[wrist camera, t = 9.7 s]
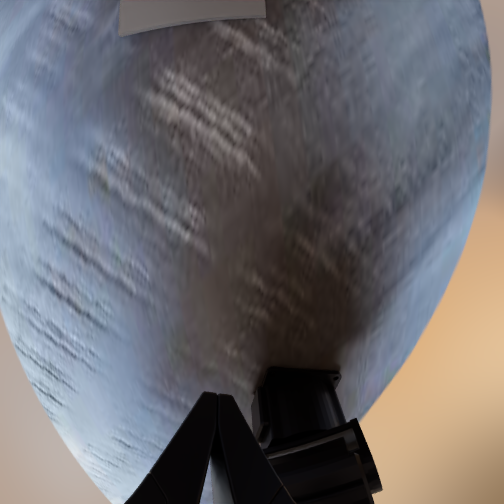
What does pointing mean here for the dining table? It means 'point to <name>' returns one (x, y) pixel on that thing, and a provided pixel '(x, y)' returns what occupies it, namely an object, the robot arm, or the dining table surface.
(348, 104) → the dining table surface
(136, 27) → the charcoal mat
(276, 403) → the robot arm
